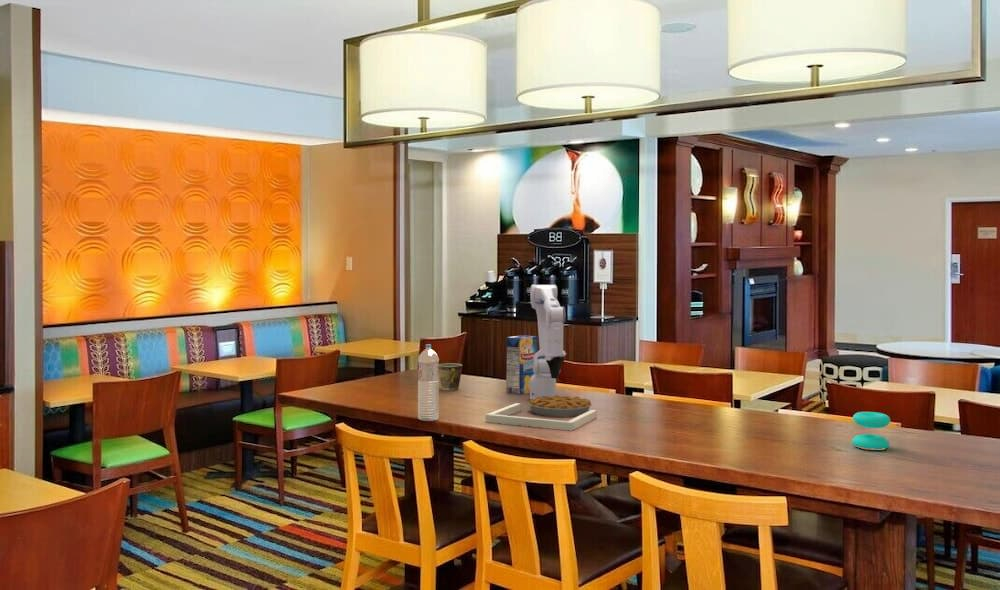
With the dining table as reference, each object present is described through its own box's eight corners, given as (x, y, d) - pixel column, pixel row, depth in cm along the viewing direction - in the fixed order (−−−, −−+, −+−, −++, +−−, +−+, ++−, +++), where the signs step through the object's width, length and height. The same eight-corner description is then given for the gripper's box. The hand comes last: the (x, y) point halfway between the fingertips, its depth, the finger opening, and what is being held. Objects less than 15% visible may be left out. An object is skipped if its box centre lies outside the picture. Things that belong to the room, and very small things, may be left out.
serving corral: (485, 422, 294) (485, 414, 294) (515, 410, 316) (515, 403, 316) (571, 430, 281) (571, 422, 281) (596, 417, 303) (596, 410, 303)
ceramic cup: (434, 388, 363) (435, 363, 363) (458, 387, 366) (458, 362, 366) (442, 393, 351) (442, 367, 351) (467, 392, 354) (467, 367, 354)
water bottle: (435, 421, 294) (435, 346, 292) (415, 420, 295) (415, 345, 294) (440, 418, 301) (441, 343, 299) (421, 417, 302) (421, 343, 301)
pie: (604, 413, 313) (604, 399, 313) (561, 421, 298) (561, 406, 298) (558, 404, 329) (558, 391, 329) (515, 411, 314) (515, 397, 314)
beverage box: (506, 392, 354) (506, 337, 352) (523, 389, 362) (524, 335, 361) (519, 394, 349) (519, 338, 348) (537, 391, 357) (537, 336, 356)
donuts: (874, 410, 266) (898, 416, 256) (873, 443, 267) (897, 450, 257) (845, 411, 263) (868, 418, 254) (844, 445, 264) (867, 452, 254)
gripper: (558, 342, 313) (557, 381, 314) (572, 339, 326) (572, 376, 327) (539, 341, 316) (539, 380, 317) (554, 338, 329) (554, 375, 330)
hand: (554, 378), depth 322 cm, fingers closed
